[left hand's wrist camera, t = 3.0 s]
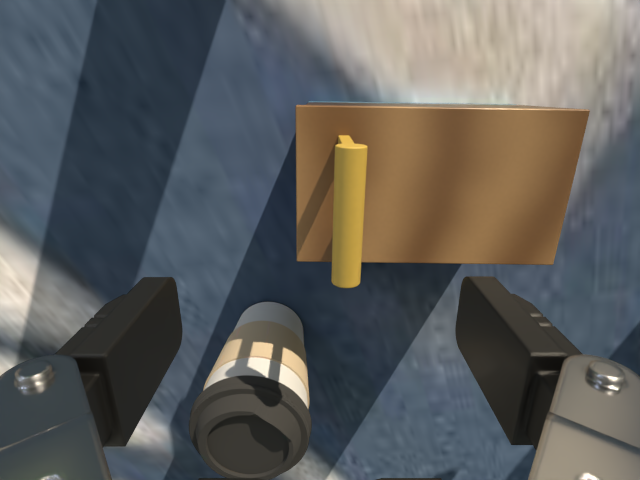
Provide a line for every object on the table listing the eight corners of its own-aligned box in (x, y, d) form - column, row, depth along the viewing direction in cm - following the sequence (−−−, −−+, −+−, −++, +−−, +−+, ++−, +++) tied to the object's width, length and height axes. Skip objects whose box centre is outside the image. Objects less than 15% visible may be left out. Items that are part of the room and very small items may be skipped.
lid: (297, 254, 28) (289, 314, 21) (296, 104, 25) (286, 110, 17) (543, 258, 28) (624, 318, 21) (578, 108, 25) (690, 116, 17)
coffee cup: (273, 380, 44) (250, 517, 30) (209, 330, 41) (152, 453, 27) (331, 330, 41) (338, 453, 27) (267, 274, 39) (238, 377, 25)
